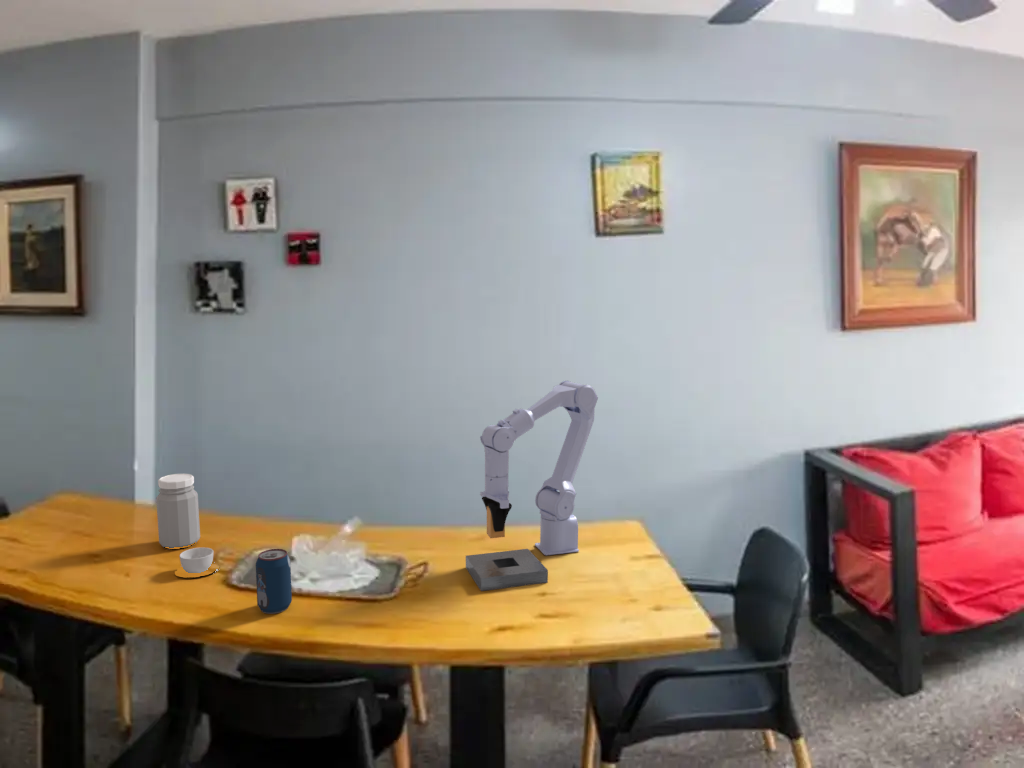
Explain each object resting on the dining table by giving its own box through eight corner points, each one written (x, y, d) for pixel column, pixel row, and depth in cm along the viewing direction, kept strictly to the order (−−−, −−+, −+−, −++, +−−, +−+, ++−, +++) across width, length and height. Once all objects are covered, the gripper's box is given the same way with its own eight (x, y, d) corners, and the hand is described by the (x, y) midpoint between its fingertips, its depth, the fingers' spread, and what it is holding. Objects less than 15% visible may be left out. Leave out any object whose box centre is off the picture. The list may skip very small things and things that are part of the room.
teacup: (203, 582, 163) (202, 562, 162) (165, 578, 164) (163, 559, 164) (228, 565, 172) (227, 547, 172) (192, 562, 174) (191, 543, 174)
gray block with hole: (527, 560, 176) (527, 548, 176) (547, 582, 163) (547, 570, 163) (465, 567, 172) (465, 555, 171) (481, 591, 158) (481, 578, 158)
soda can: (295, 600, 153) (293, 547, 151) (286, 615, 146) (284, 560, 145) (263, 600, 153) (261, 547, 151) (253, 615, 146) (250, 560, 144)
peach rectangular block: (500, 531, 176) (500, 504, 175) (504, 536, 172) (504, 509, 171) (486, 533, 175) (486, 506, 174) (490, 538, 171) (490, 510, 170)
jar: (159, 540, 188) (155, 474, 185) (200, 535, 192) (196, 471, 189) (158, 553, 179) (154, 484, 177) (200, 547, 183) (197, 480, 181)
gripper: (473, 468, 177) (473, 520, 179) (488, 483, 163) (488, 539, 165) (500, 466, 179) (500, 517, 181) (517, 481, 165) (517, 536, 167)
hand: (496, 528), depth 173 cm, fingers closed on peach rectangular block, 4 cm apart
